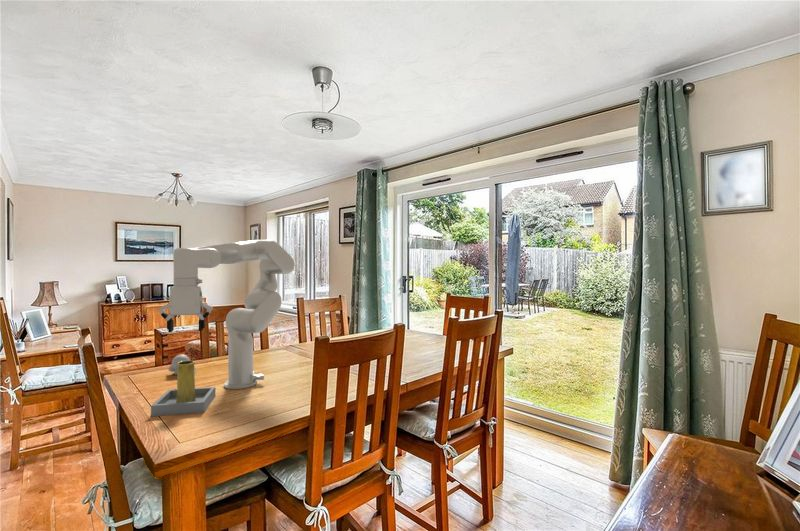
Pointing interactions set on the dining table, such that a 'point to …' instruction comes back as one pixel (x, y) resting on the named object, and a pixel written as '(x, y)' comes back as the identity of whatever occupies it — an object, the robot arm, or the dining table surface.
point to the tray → (183, 403)
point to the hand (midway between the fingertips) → (186, 331)
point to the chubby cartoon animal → (176, 360)
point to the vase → (185, 382)
